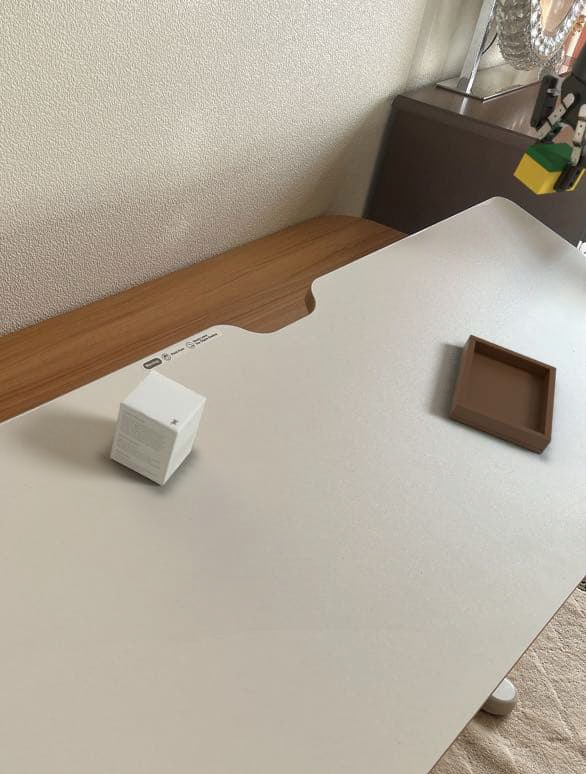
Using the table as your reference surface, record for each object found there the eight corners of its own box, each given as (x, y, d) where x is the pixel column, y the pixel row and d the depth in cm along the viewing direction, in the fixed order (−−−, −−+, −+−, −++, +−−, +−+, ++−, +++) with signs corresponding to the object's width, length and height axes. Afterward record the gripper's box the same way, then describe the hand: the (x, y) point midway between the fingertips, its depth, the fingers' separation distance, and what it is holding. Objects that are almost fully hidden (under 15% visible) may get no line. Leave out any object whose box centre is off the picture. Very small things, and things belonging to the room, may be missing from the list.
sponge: (549, 171, 117) (565, 142, 114) (573, 190, 115) (590, 161, 112) (513, 174, 114) (528, 145, 111) (536, 194, 112) (553, 165, 109)
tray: (462, 347, 110) (470, 334, 108) (547, 380, 109) (556, 367, 107) (448, 417, 100) (456, 404, 98) (541, 454, 99) (551, 441, 98)
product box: (191, 452, 88) (209, 397, 82) (162, 488, 84) (178, 433, 78) (138, 424, 89) (152, 367, 83) (107, 457, 85) (119, 401, 79)
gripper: (689, 71, 99) (602, 208, 112) (600, 12, 106) (528, 148, 119) (647, 72, 96) (563, 213, 109) (559, 12, 103) (489, 151, 116)
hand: (545, 178), depth 114 cm, fingers closed on sponge, 4 cm apart
